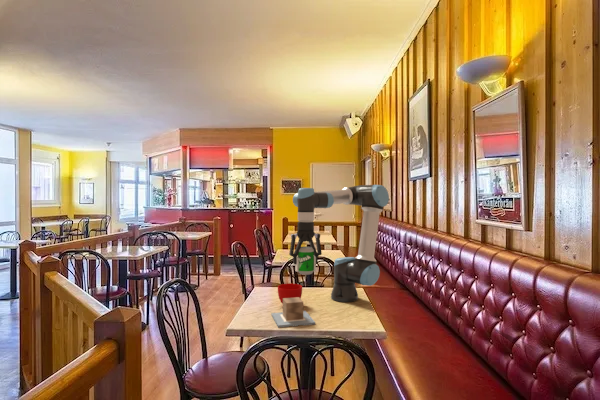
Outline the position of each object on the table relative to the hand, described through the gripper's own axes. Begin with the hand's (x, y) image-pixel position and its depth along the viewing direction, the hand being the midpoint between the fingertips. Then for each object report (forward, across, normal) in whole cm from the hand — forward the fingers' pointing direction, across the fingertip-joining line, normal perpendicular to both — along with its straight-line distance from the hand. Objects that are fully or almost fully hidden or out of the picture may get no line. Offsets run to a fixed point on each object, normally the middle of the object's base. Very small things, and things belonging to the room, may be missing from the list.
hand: (305, 270), depth 169 cm
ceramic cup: (+24, 0, -27) cm, 36 cm away
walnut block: (+22, +5, -3) cm, 23 cm away
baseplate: (+23, +5, -3) cm, 24 cm away
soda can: (+1, 0, 0) cm, 1 cm away
